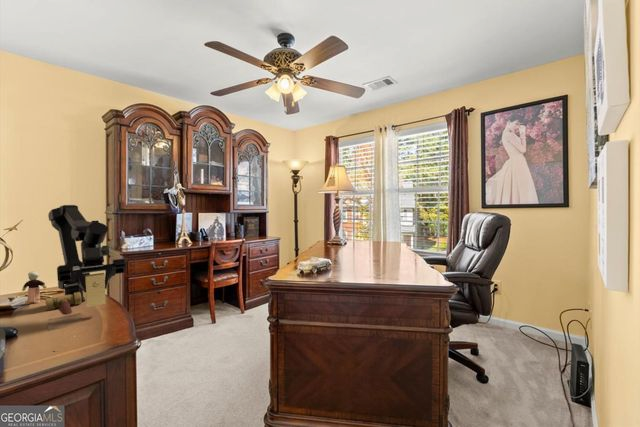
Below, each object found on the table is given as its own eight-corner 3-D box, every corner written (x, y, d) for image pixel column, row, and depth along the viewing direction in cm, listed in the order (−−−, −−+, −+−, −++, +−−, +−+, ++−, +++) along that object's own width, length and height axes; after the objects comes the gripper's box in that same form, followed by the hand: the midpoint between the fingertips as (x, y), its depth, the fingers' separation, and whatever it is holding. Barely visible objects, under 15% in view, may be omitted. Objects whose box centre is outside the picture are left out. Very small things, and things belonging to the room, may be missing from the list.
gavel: (87, 307, 103) (48, 316, 96) (87, 320, 103) (49, 329, 96) (79, 290, 117) (45, 296, 110) (80, 301, 118) (46, 308, 111)
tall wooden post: (86, 304, 98) (85, 275, 98) (104, 301, 102) (103, 272, 101) (86, 307, 96) (85, 277, 95) (105, 303, 99) (104, 274, 99)
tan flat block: (48, 323, 96) (47, 319, 96) (81, 317, 102) (81, 312, 102) (46, 336, 87) (46, 331, 87) (83, 328, 92) (82, 323, 92)
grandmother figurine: (19, 305, 115) (18, 273, 115) (23, 303, 118) (21, 271, 118) (46, 302, 119) (44, 271, 118) (48, 299, 122) (47, 269, 122)
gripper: (55, 241, 95) (57, 281, 87) (124, 236, 107) (131, 271, 99) (57, 261, 101) (58, 301, 93) (122, 255, 113) (128, 289, 105)
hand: (95, 290), depth 98 cm, fingers closed on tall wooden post, 5 cm apart
